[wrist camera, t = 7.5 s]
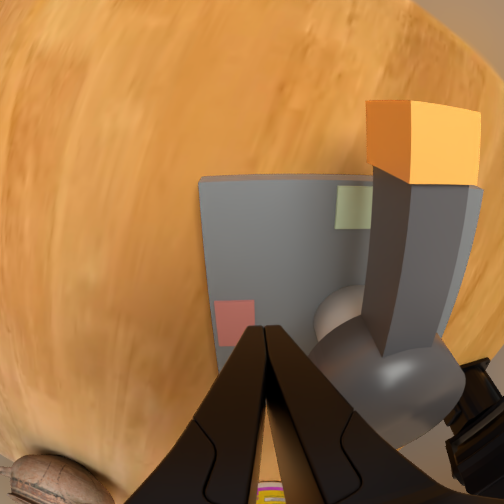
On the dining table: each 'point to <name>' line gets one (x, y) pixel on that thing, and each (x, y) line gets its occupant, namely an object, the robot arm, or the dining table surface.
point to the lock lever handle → (407, 270)
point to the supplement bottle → (270, 493)
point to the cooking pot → (53, 482)
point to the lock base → (295, 253)
